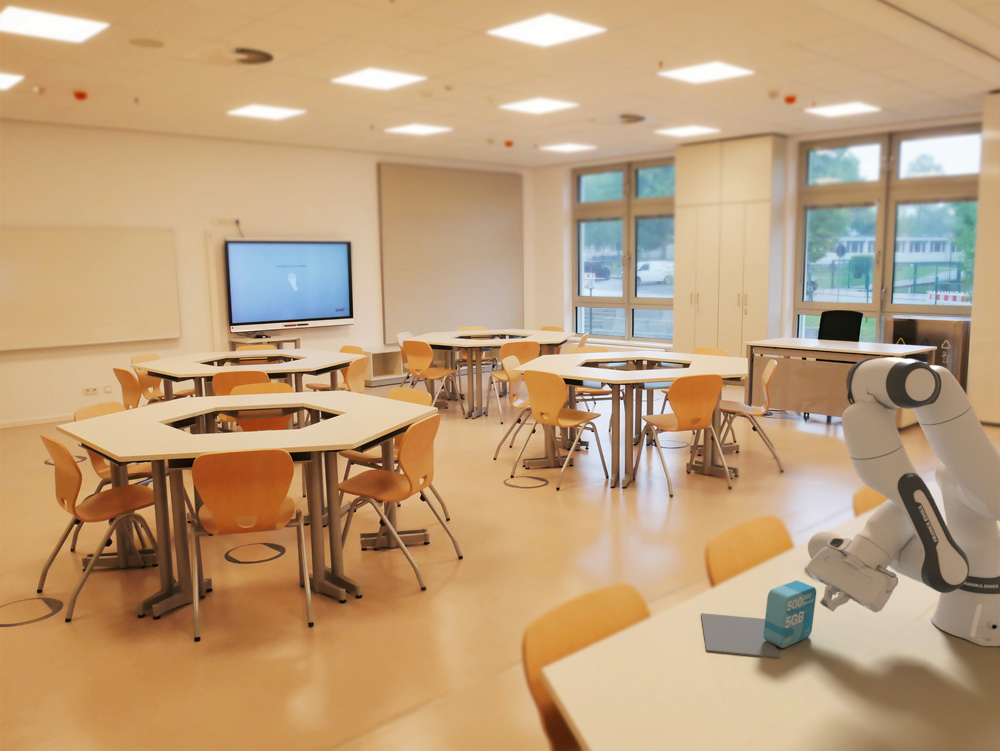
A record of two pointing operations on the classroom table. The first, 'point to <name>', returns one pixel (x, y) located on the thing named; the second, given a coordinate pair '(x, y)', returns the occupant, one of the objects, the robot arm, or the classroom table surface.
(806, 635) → the data package
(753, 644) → the mat
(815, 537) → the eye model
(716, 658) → the classroom table surface
